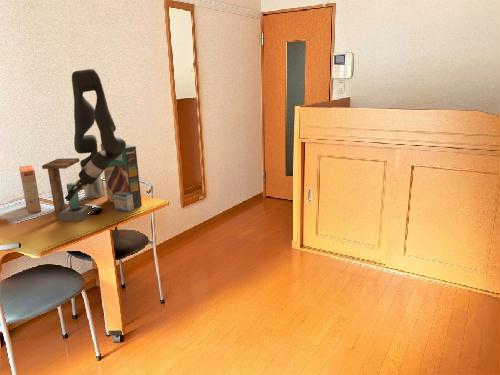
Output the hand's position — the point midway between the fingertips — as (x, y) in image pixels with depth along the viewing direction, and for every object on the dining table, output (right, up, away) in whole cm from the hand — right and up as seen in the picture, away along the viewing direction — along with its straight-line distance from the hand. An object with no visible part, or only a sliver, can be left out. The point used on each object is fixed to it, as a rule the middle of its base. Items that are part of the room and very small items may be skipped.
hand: (69, 197), depth 179 cm
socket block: (+2, -9, +3) cm, 10 cm away
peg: (+2, -4, +1) cm, 5 cm away
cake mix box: (+18, -3, +23) cm, 29 cm away
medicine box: (+21, -6, +12) cm, 25 cm away
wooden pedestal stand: (-1, -9, +3) cm, 10 cm away
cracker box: (-25, -6, +16) cm, 30 cm away
